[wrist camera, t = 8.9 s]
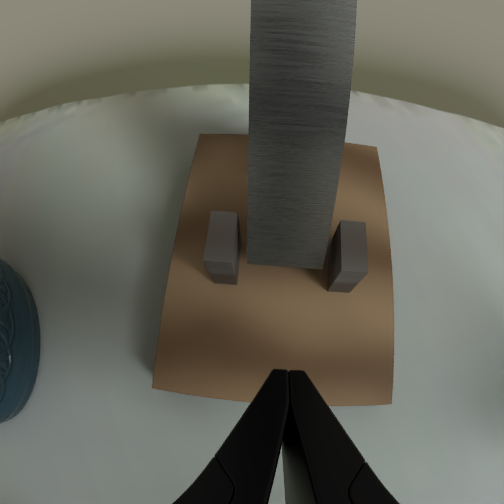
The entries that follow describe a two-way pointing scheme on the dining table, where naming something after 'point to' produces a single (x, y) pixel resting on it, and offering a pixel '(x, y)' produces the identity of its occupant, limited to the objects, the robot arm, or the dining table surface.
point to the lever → (296, 126)
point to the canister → (16, 343)
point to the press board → (277, 290)
